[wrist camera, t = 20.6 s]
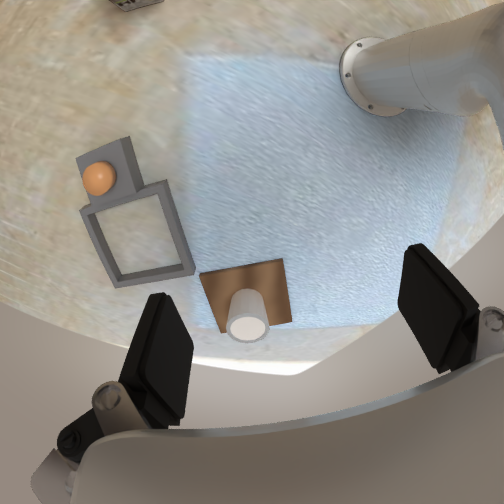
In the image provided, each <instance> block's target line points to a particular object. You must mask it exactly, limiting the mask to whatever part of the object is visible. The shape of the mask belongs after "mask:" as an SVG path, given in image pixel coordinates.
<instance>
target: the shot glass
mask: <svg viewBox="0 0 504 504" xmlns="http://www.w3.org/2000/svg"><path fill="white" fill-rule="evenodd" d="M226 330H227V334H228V335H229V336H230V337H231V338H232V339H234V340H236V341H238V342H243V343H253V342H257V341H259V340H262V339H263V338H264V337H265V336H266V335H267V334H268V332H269V330H270V328H269V322H268V318H267V314H266V310H265V306H264V301H263V297H262V296H261V294H260V293H259V292H257V291H256V290H253V289H241V290H239V291H237V292H236V293H235V294H234V295H233V296H232V299H231V304H230V309H229V314H228V320H227V325H226Z"/></svg>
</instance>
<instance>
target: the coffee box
mask: <svg viewBox="0 0 504 504" xmlns="http://www.w3.org/2000/svg"><path fill="white" fill-rule="evenodd" d="M109 1H111V2H112V3H114V4H115V5H117V6H118V7H120V8H121V9H122V10H124V11H125V12H126V11H129V10H133V9H136V8H140V7H143V6H147V5H151V4H154V3H159V2H162V1H164V0H109Z"/></svg>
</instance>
